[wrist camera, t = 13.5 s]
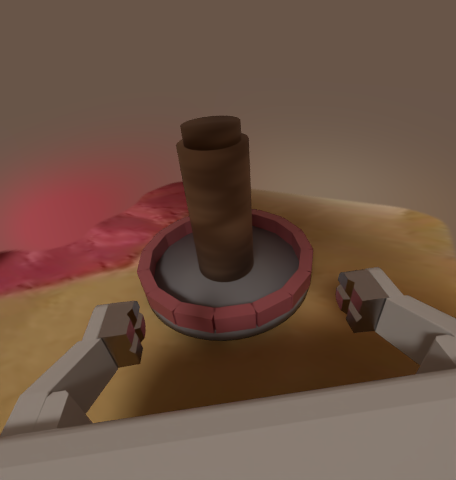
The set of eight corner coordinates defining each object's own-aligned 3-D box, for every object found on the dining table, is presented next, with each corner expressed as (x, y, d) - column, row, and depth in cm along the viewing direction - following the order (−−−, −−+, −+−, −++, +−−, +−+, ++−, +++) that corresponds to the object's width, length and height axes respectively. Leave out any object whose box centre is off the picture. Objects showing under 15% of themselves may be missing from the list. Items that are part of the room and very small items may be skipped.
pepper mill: (199, 285, 24) (170, 137, 17) (198, 250, 28) (174, 118, 21) (258, 278, 24) (254, 127, 17) (248, 243, 28) (241, 111, 21)
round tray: (132, 354, 20) (122, 332, 19) (155, 236, 32) (150, 217, 31) (339, 325, 21) (344, 301, 19) (284, 220, 33) (285, 201, 31)
